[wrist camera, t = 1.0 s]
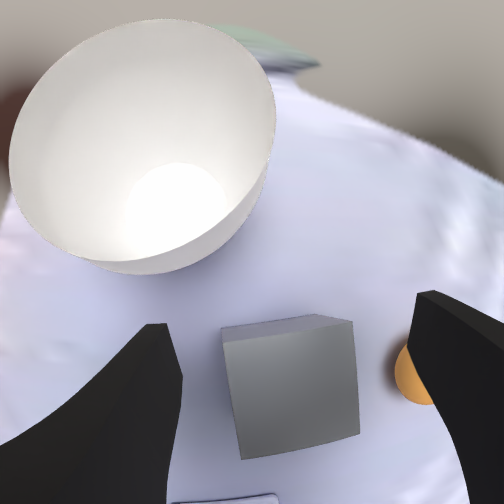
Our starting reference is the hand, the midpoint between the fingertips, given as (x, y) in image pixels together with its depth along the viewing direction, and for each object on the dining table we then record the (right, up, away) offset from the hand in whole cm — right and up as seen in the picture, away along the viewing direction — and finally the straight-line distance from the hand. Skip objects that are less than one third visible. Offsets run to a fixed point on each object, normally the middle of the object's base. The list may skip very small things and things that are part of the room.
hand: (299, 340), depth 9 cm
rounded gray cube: (0, -5, +11) cm, 12 cm away
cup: (-6, +5, +12) cm, 14 cm away
